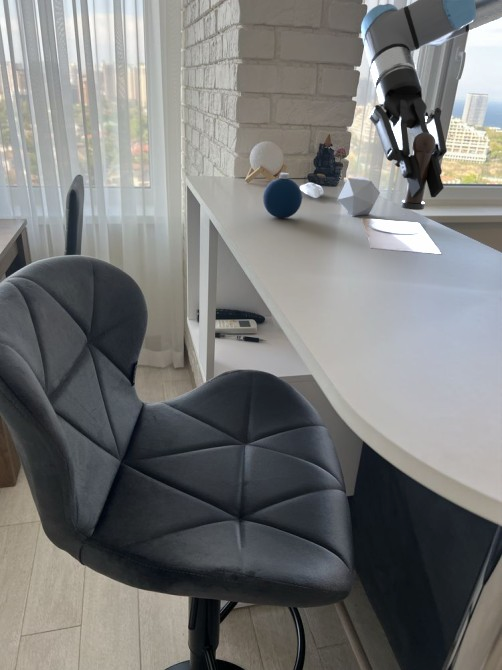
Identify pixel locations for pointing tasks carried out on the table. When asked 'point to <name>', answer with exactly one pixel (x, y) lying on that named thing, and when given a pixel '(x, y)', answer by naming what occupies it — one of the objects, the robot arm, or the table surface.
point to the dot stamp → (420, 168)
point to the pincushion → (312, 189)
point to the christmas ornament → (282, 197)
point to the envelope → (398, 236)
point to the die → (358, 196)
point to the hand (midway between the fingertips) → (427, 192)
